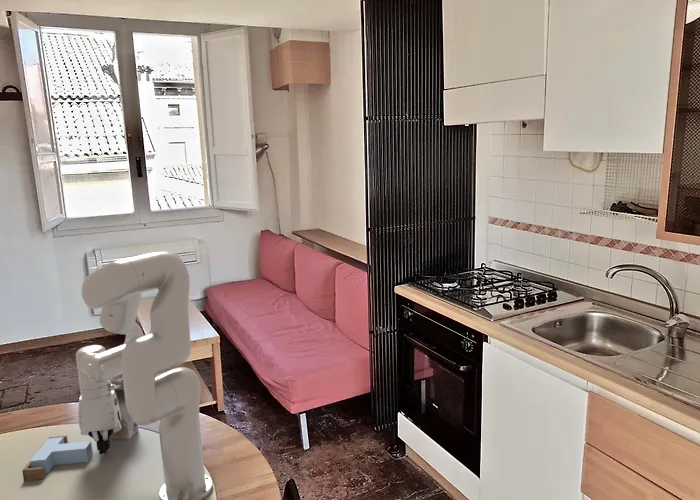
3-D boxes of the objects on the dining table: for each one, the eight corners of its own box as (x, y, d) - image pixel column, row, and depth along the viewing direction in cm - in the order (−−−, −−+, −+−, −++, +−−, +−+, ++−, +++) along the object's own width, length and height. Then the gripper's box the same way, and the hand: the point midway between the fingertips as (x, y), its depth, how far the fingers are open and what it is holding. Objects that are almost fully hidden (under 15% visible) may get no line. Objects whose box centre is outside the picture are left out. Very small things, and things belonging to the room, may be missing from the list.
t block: (82, 469, 150) (80, 456, 149) (32, 474, 148) (29, 461, 148) (97, 446, 161) (95, 434, 161) (50, 451, 160) (48, 438, 159)
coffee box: (100, 439, 165) (93, 389, 163) (111, 429, 172) (105, 380, 169) (129, 440, 164) (123, 389, 162) (140, 429, 171) (134, 380, 168)
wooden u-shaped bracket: (43, 478, 146) (41, 468, 146) (23, 481, 145) (22, 470, 145) (68, 444, 163) (66, 435, 163) (51, 446, 163) (49, 437, 162)
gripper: (127, 382, 157) (135, 442, 160) (72, 387, 155) (80, 448, 159) (120, 393, 150) (128, 455, 153) (62, 399, 148) (71, 462, 151)
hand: (104, 451), depth 156 cm, fingers closed
